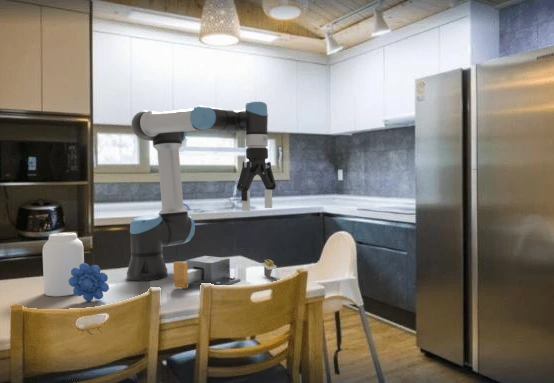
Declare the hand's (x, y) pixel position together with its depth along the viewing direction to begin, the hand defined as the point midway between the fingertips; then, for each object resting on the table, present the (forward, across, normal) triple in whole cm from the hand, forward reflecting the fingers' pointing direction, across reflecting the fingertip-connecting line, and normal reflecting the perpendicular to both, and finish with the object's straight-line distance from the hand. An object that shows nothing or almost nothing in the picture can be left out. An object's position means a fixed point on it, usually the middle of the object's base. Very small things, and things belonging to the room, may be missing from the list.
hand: (257, 209), depth 153 cm
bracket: (+27, -3, +20) cm, 33 cm away
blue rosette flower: (+27, -42, +35) cm, 61 cm away
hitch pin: (+26, -10, +20) cm, 34 cm away
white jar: (+27, -39, +53) cm, 71 cm away
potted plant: (+27, +12, +3) cm, 30 cm away
